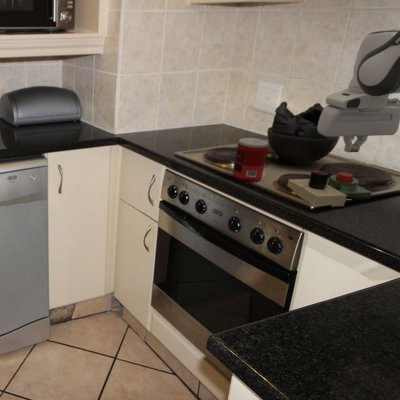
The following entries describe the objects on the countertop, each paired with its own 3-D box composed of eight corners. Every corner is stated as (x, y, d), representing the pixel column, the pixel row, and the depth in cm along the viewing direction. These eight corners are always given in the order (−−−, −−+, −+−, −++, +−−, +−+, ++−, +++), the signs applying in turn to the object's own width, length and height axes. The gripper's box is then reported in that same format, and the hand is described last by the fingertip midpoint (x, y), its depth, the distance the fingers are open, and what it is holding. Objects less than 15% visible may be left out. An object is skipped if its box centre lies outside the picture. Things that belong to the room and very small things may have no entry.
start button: (354, 182, 126) (356, 176, 125) (342, 182, 126) (344, 176, 125) (345, 177, 129) (347, 171, 129) (333, 178, 129) (334, 172, 128)
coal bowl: (347, 165, 148) (361, 105, 142) (306, 176, 140) (318, 111, 133) (289, 151, 165) (299, 96, 158) (249, 159, 156) (258, 101, 150)
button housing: (369, 200, 124) (373, 185, 123) (341, 201, 123) (345, 186, 122) (339, 184, 134) (343, 171, 133) (313, 185, 133) (317, 172, 132)
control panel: (344, 206, 120) (347, 194, 119) (314, 207, 119) (317, 195, 118) (313, 188, 131) (316, 177, 130) (285, 189, 130) (288, 178, 129)
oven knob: (318, 183, 126) (322, 168, 125) (328, 189, 123) (333, 173, 121) (304, 184, 126) (308, 168, 124) (314, 189, 122) (318, 174, 120)
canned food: (266, 179, 138) (274, 142, 134) (250, 184, 134) (257, 146, 130) (243, 171, 144) (249, 136, 140) (226, 176, 140) (233, 140, 135)
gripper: (393, 95, 123) (378, 147, 129) (320, 96, 121) (307, 149, 126) (414, 100, 117) (396, 154, 123) (337, 101, 115) (323, 156, 120)
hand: (351, 151), depth 124 cm, fingers closed
